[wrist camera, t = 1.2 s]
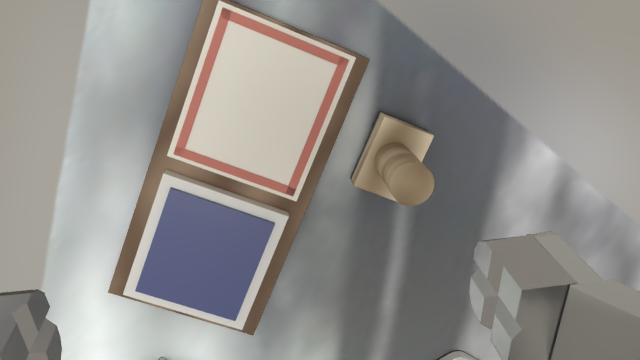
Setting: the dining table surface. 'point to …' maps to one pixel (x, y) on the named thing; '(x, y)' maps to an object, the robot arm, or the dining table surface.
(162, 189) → the ink pad
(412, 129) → the wooden stamp
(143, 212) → the stamping board
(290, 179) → the sheet
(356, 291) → the dining table surface
